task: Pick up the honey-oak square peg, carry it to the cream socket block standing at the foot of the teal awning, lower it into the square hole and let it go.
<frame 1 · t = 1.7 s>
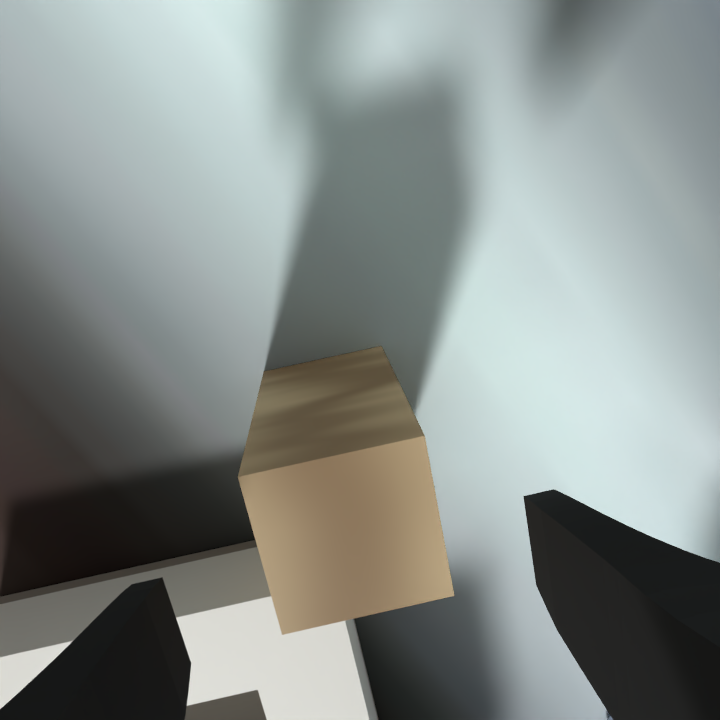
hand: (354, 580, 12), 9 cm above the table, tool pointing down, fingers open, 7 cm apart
oak peg: (335, 413, 21), on the table
socket block: (210, 694, 24), on the table
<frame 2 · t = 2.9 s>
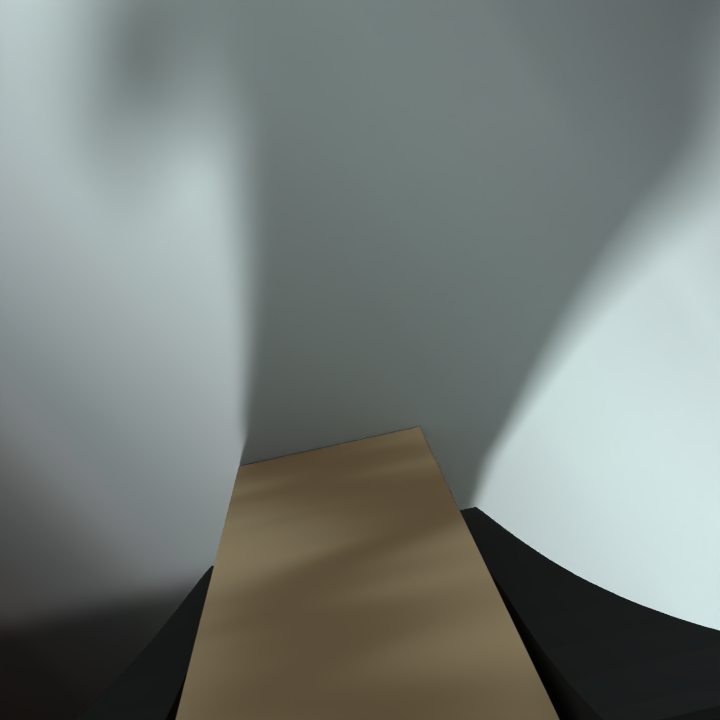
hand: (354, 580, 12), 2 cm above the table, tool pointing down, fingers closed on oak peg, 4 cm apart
oak peg: (348, 526, 14), on the table, touching gripper
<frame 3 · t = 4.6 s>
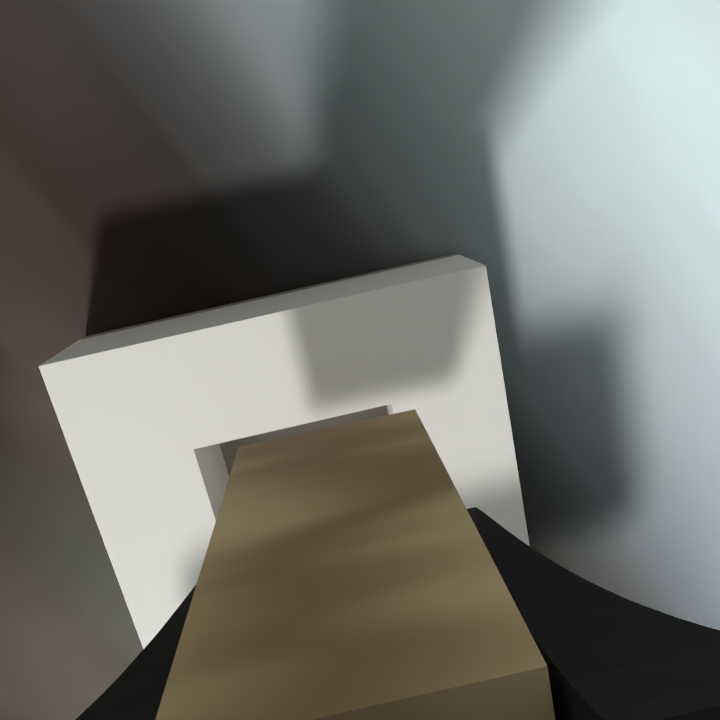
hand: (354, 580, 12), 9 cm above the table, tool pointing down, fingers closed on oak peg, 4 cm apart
oak peg: (345, 508, 14), point 7 cm above the table, touching gripper
socket block: (314, 463, 21), on the table
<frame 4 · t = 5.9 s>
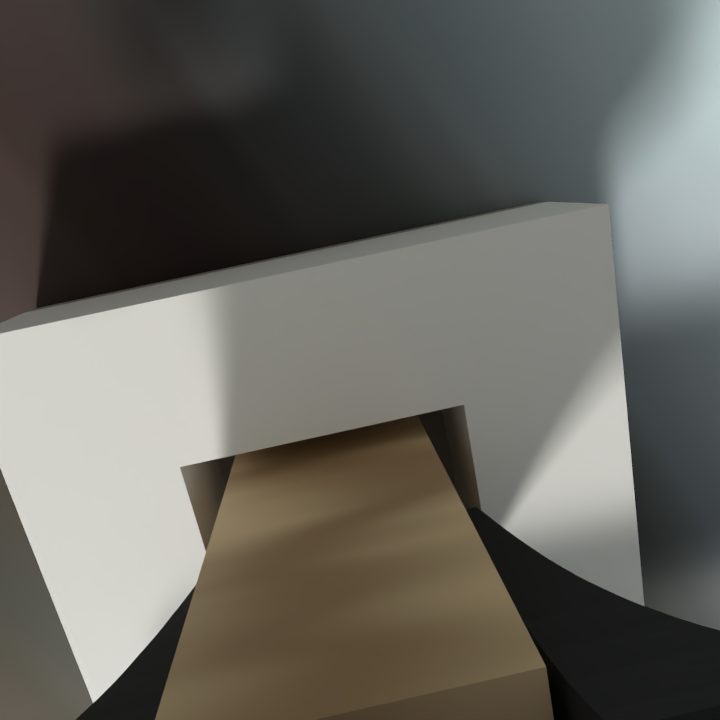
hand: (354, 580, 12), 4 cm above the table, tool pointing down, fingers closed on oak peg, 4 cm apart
oak peg: (344, 509, 14), point 2 cm above the table, touching gripper
socket block: (342, 483, 16), on the table
when the fingers open (4 cm above the table, at t = 6.5 s): oak peg drops 1 cm, resting on socket block.
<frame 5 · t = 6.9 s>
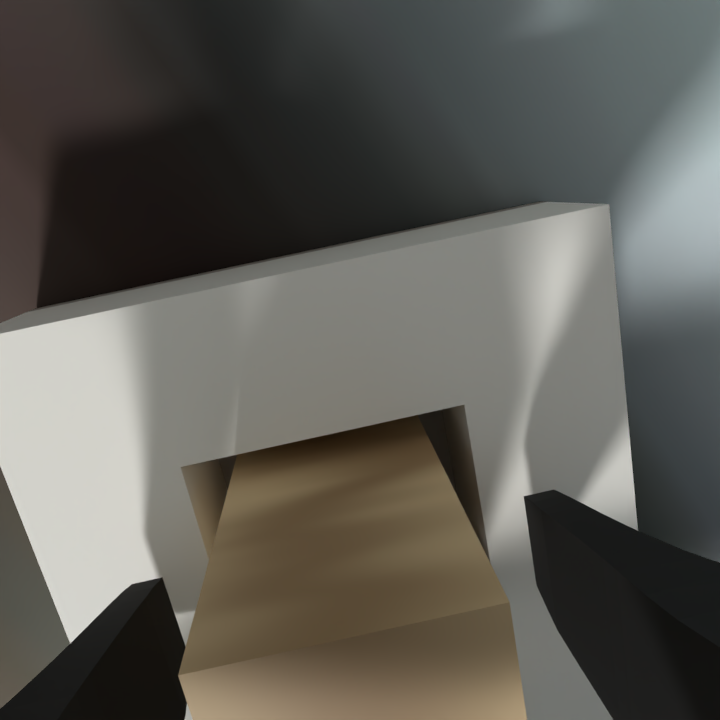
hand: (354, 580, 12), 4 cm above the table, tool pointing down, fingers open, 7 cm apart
oak peg: (342, 484, 16), resting on socket block
socket block: (342, 483, 16), on the table
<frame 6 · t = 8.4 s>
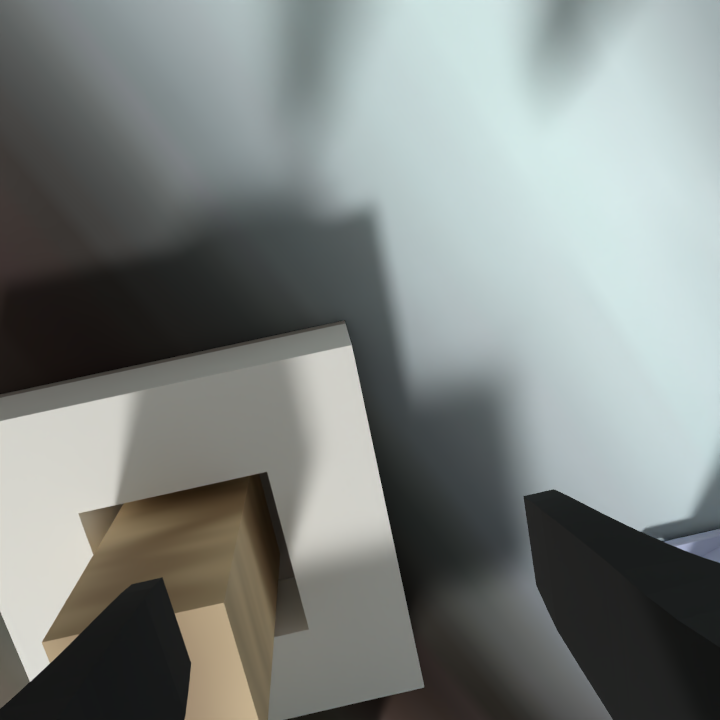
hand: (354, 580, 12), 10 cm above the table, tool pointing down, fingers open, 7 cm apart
oak peg: (211, 517, 22), resting on socket block
socket block: (215, 516, 22), on the table
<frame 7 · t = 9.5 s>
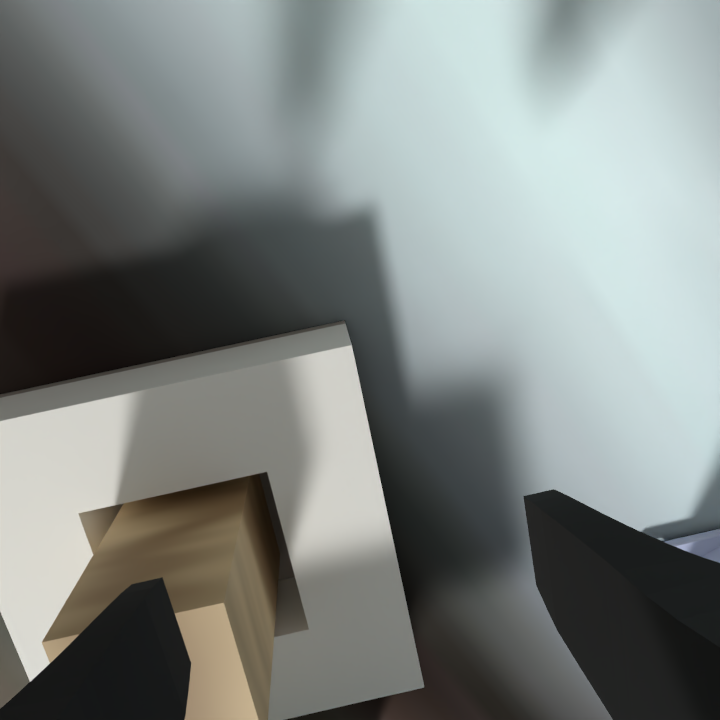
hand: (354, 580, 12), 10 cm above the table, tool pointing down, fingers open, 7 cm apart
oak peg: (211, 517, 22), resting on socket block
socket block: (215, 516, 22), on the table
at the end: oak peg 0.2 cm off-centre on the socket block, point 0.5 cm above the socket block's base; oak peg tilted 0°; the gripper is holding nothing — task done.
